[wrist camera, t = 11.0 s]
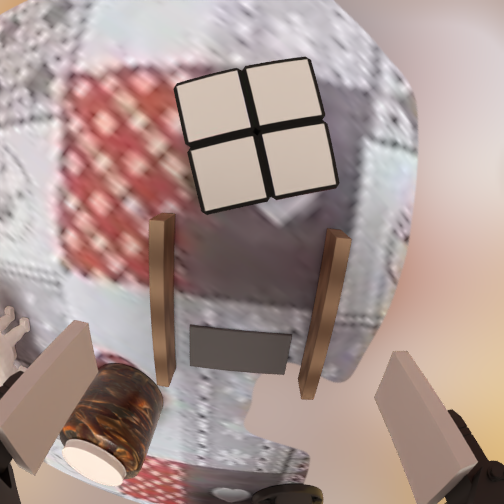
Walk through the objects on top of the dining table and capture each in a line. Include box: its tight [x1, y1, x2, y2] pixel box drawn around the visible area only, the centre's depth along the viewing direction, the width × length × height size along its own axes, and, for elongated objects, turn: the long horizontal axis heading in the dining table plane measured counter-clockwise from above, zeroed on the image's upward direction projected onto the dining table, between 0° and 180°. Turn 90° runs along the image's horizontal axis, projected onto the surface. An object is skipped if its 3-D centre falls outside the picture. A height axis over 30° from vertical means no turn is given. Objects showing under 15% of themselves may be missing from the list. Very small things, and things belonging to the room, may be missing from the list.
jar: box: [60, 363, 163, 486], centre depth 31 cm, size 12×12×15 cm
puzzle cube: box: [174, 57, 339, 215], centre depth 24 cm, size 10×10×10 cm
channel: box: [149, 213, 352, 400], centre depth 32 cm, size 20×19×4 cm
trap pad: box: [190, 325, 292, 375], centre depth 35 cm, size 6×12×1 cm, turn 85°
